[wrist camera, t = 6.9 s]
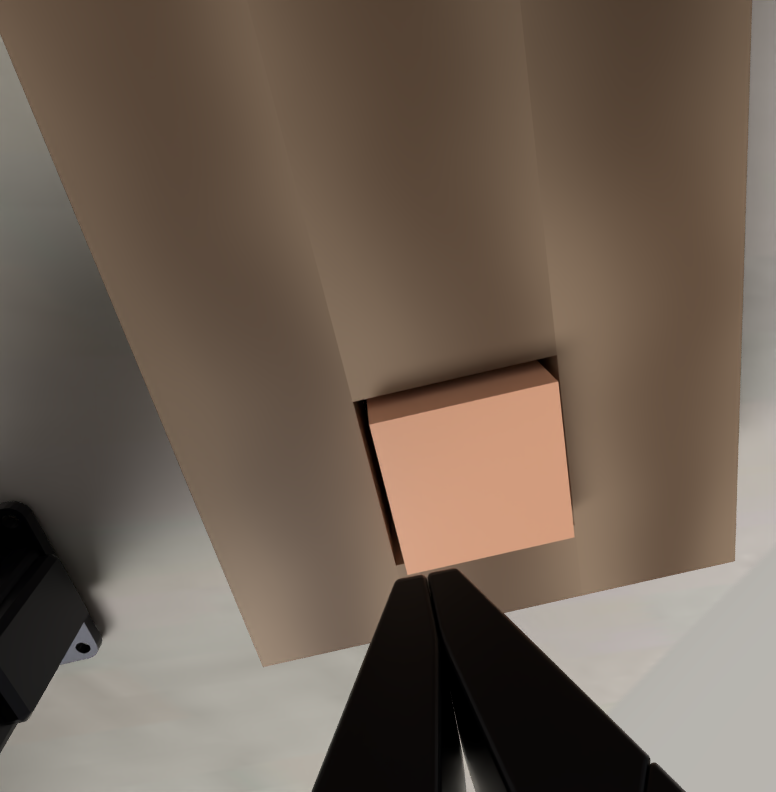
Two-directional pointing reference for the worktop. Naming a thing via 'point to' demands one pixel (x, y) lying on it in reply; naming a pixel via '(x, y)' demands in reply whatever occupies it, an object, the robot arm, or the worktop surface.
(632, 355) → the button panel
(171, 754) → the worktop surface
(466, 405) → the terracotta button
